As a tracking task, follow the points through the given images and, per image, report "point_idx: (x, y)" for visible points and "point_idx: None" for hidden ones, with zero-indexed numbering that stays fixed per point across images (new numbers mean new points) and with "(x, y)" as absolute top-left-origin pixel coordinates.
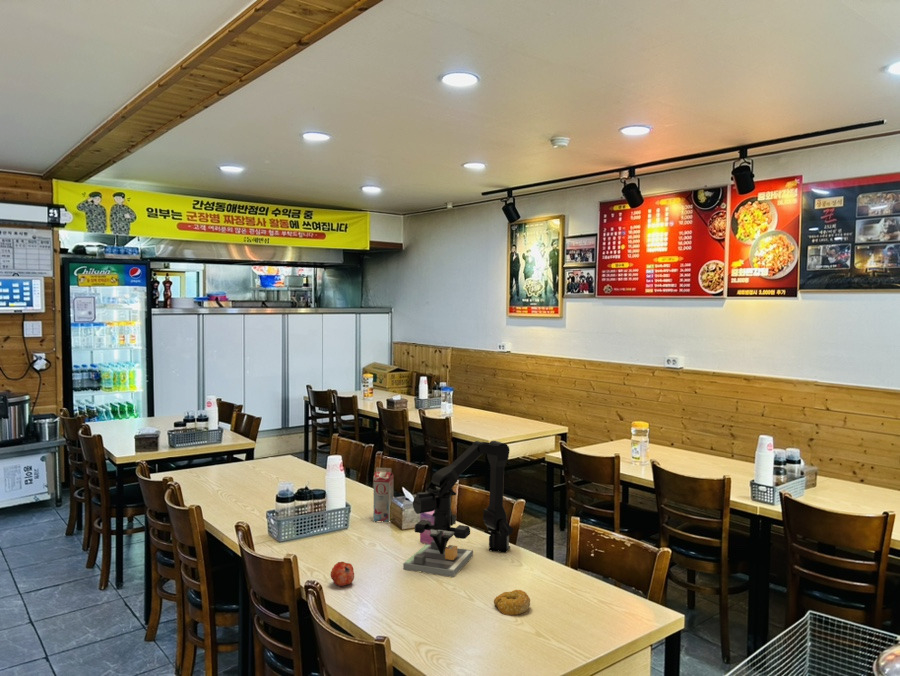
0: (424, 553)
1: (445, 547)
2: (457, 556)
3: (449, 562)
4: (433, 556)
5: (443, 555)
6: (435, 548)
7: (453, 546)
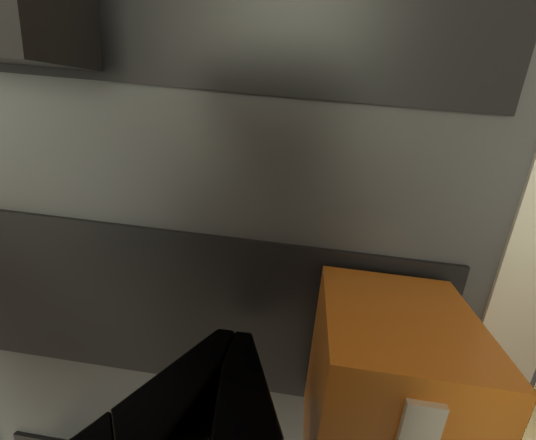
0: (3, 266)
1: (267, 397)
2: (447, 268)
3: None
4: (141, 330)
5: (245, 275)
6: (42, 65)
7: (444, 432)
